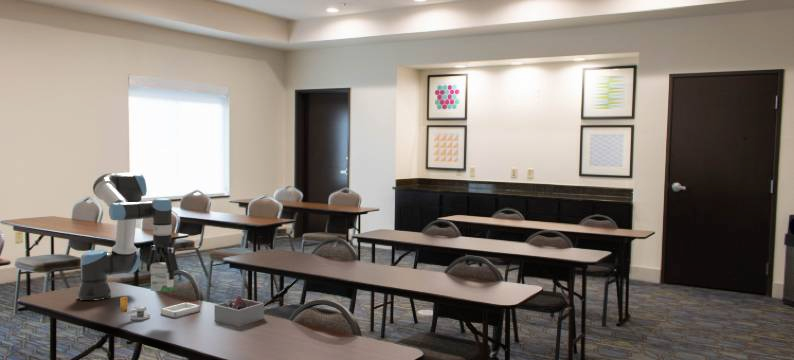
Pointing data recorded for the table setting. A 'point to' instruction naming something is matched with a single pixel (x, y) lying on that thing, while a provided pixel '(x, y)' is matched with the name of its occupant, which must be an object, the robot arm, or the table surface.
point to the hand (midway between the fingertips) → (162, 285)
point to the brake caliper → (236, 303)
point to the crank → (124, 307)
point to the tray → (180, 309)
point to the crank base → (140, 316)
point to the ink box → (159, 277)
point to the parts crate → (239, 313)
